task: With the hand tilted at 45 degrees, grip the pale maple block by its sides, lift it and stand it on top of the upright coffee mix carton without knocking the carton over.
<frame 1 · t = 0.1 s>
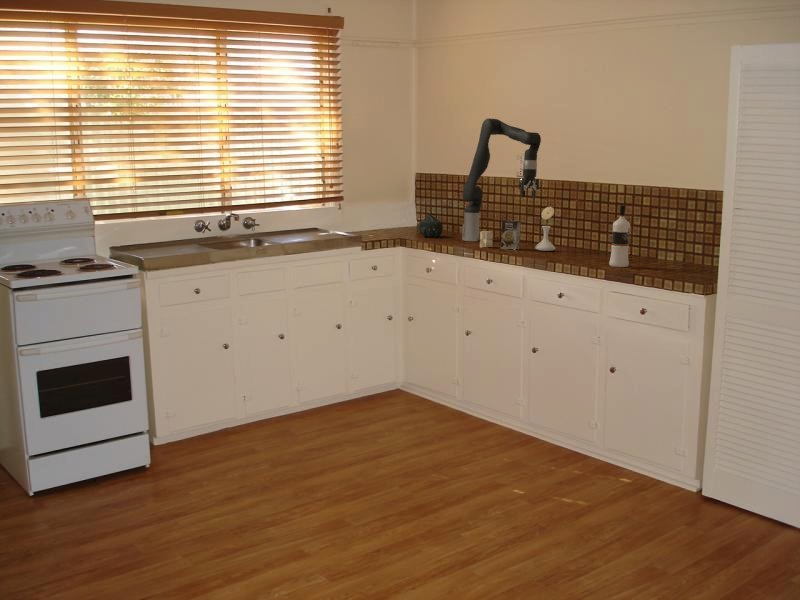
hand: (528, 197, 502), 29 cm above the counter, tool pointing down, fingers open, 8 cm apart
squash: (430, 237, 556), on the counter
maple block: (485, 247, 505), on the counter
vodka: (618, 266, 436), on the counter
flower in vase: (545, 251, 495), on the counter
coffee box: (509, 249, 499), on the counter
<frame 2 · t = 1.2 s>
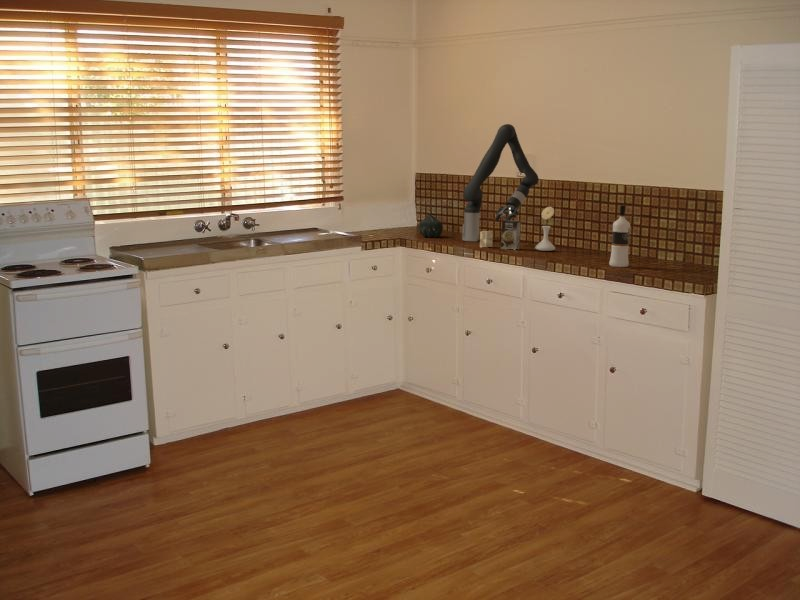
hand: (501, 221, 510), 15 cm above the counter, tool tilted 45°, fingers open, 8 cm apart
nothing on the counter moved.
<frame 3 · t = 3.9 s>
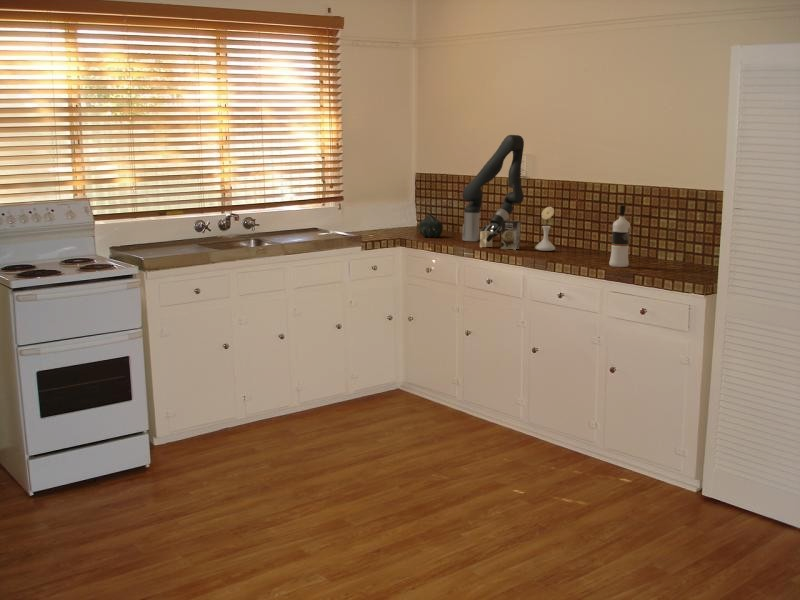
hand: (483, 240, 504), 4 cm above the counter, tool tilted 45°, fingers closed on maple block, 5 cm apart
maple block: (485, 247, 505), on the counter, touching gripper
everything else where it was.
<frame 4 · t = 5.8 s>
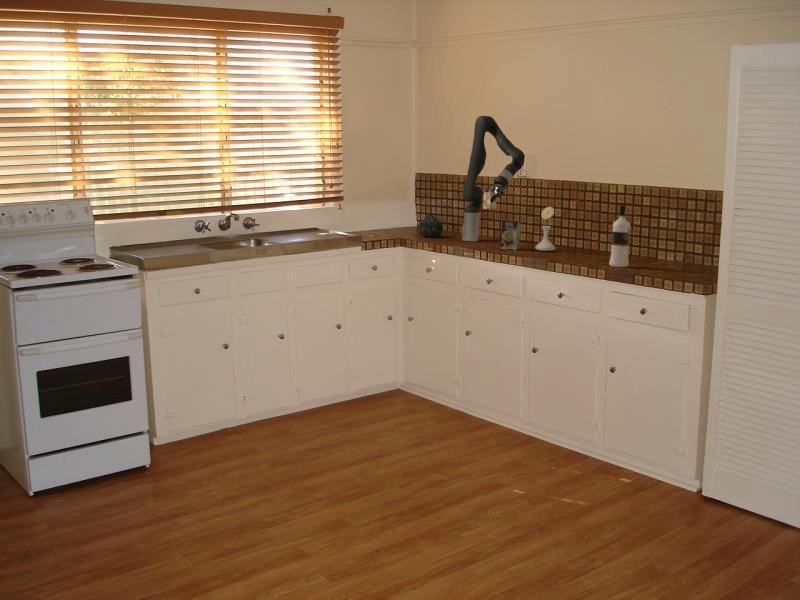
hand: (487, 201, 499), 26 cm above the counter, tool tilted 45°, fingers closed on maple block, 5 cm apart
maple block: (489, 208, 501), point 22 cm above the counter, touching gripper
everything else where it was.
when the fingers open (21 cm above the counter, at t = 8.2 s): maple block stays where it is, resting on coffee box.
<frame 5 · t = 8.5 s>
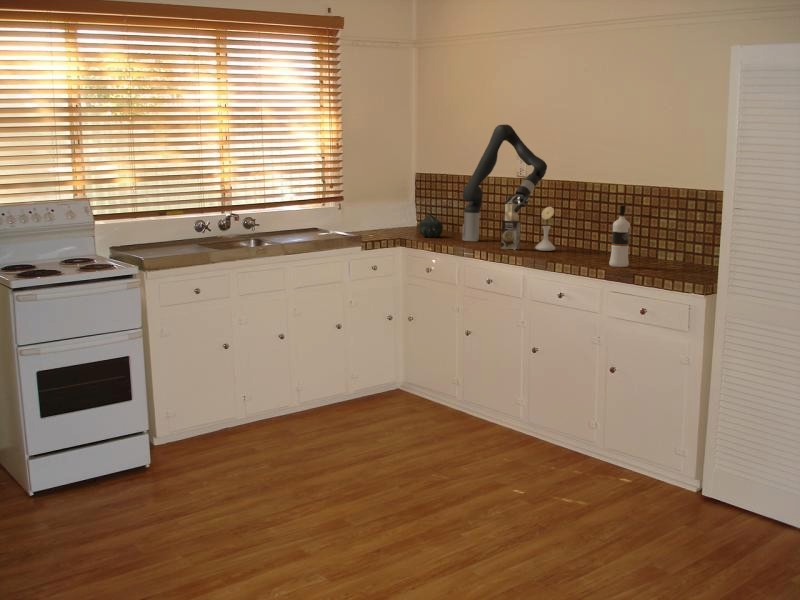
hand: (510, 210, 495), 22 cm above the counter, tool tilted 45°, fingers open, 7 cm apart
maple block: (511, 220, 497), point 16 cm above the counter, touching coffee box
coffee box: (509, 249, 499), on the counter, touching maple block
everything else where it was.
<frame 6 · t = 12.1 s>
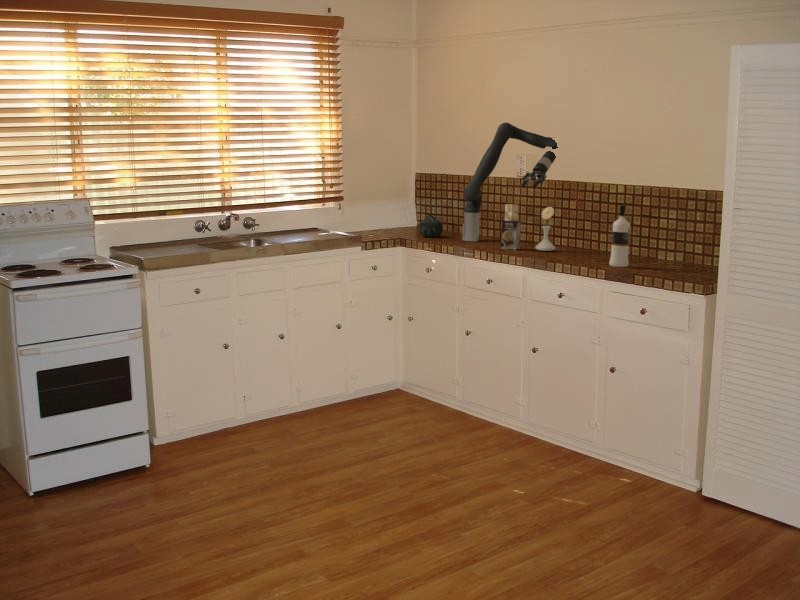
hand: (527, 186, 507), 35 cm above the counter, tool tilted 45°, fingers open, 8 cm apart
nothing on the counter moved.
at the end: maple block inside the target area on the coffee box (0.1 cm from its centre), point 16.3 cm above the coffee box's base; coffee box tilted 0°; the gripper is holding nothing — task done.
